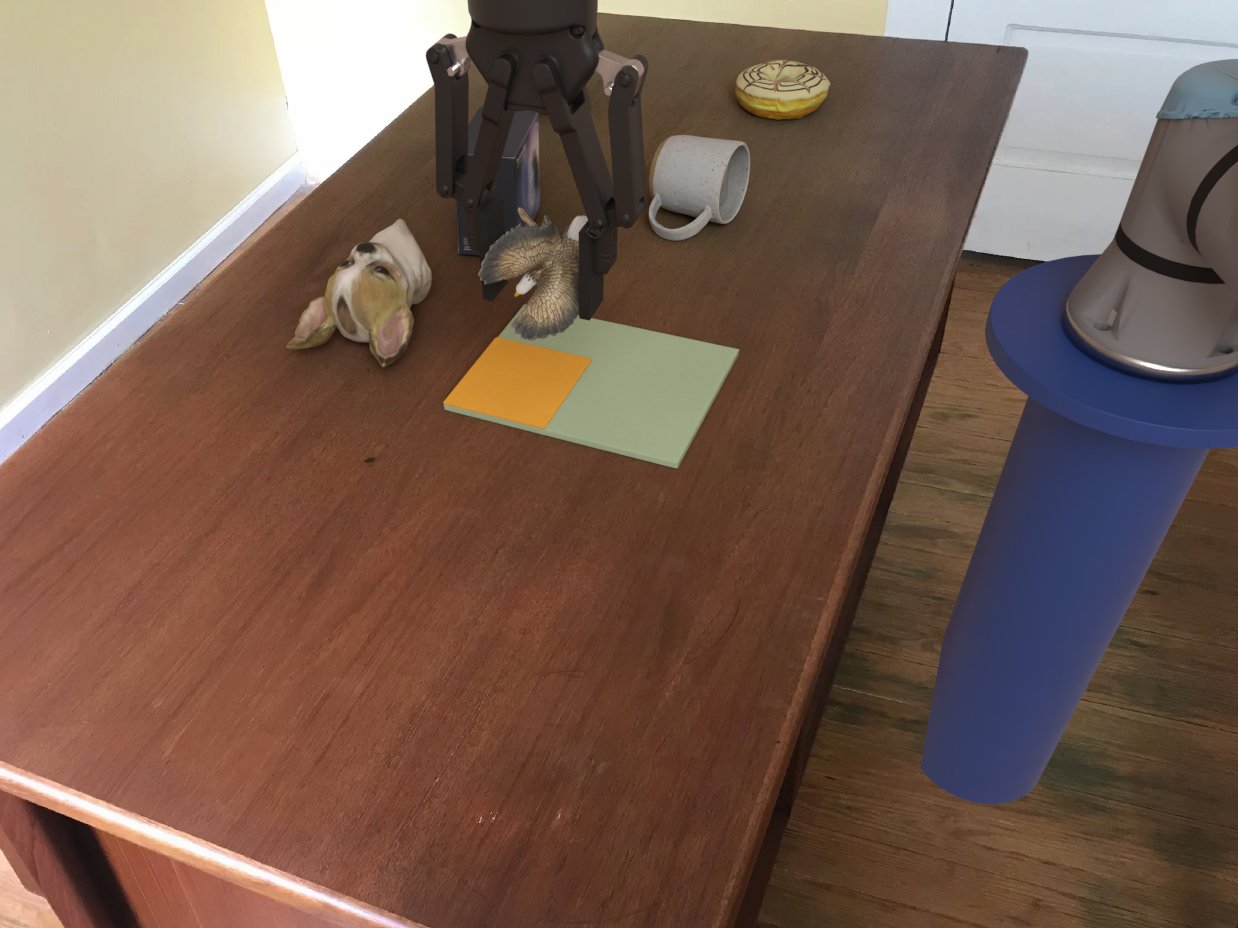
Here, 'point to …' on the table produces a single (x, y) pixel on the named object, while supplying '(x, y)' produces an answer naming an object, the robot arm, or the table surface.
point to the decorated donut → (781, 89)
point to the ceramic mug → (698, 181)
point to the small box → (509, 173)
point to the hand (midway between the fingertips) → (542, 299)
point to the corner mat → (599, 387)
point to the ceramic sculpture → (370, 296)
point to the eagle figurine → (539, 273)
